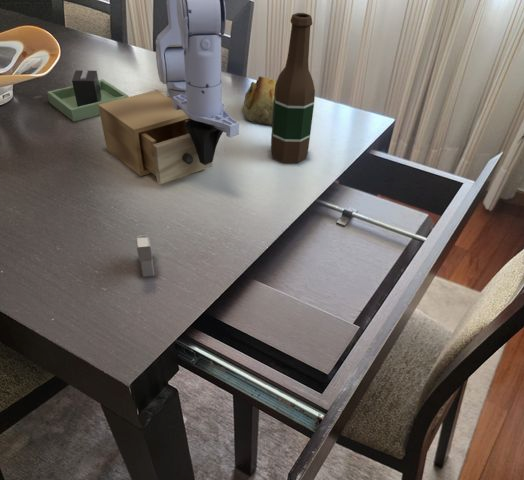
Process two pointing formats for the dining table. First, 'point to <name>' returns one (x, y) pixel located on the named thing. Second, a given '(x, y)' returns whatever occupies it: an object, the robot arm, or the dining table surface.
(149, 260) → the grey upright block
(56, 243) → the dining table surface
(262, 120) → the pastry
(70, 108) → the tray
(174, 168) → the drawer
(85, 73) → the black rectangular block
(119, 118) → the cabinet
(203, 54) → the robot arm
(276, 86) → the beer bottle
